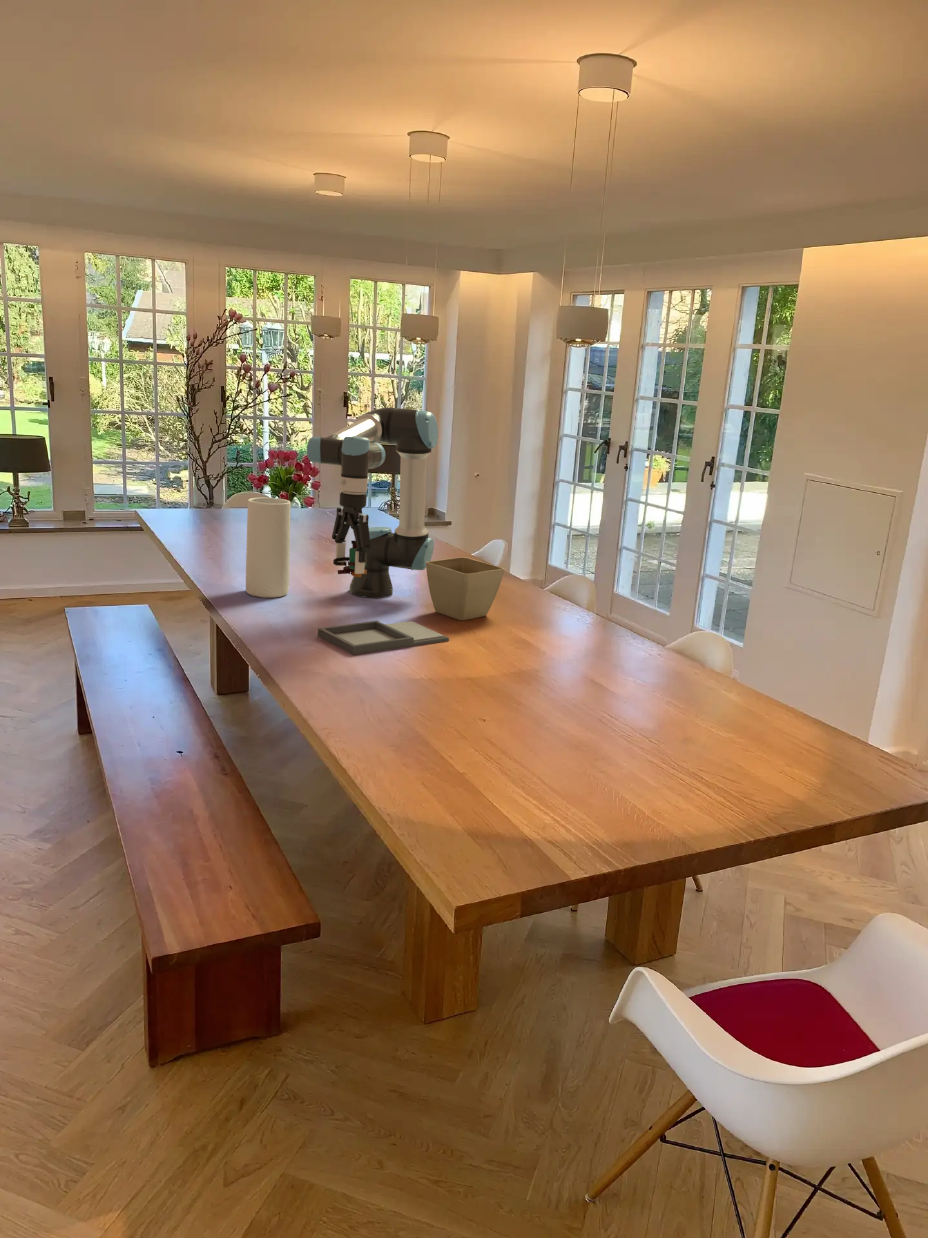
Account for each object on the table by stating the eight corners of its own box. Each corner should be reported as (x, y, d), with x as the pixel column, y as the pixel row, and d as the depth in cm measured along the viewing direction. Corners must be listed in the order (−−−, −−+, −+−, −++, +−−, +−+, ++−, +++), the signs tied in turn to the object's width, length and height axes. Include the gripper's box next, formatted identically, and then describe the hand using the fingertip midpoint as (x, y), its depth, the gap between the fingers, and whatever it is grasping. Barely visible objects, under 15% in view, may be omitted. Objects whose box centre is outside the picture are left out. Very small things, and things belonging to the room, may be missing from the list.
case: (411, 624, 285) (411, 616, 284) (448, 640, 271) (449, 632, 270) (317, 636, 264) (318, 628, 264) (353, 655, 250) (353, 646, 249)
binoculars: (338, 536, 264) (370, 536, 262) (339, 571, 266) (372, 572, 264) (326, 540, 255) (360, 541, 253) (328, 577, 258) (361, 578, 256)
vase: (296, 592, 312) (299, 500, 304) (274, 600, 299) (277, 505, 290) (259, 586, 316) (261, 495, 308) (237, 594, 303) (238, 500, 295)
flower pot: (501, 617, 302) (506, 567, 298) (462, 625, 289) (466, 573, 284) (460, 604, 315) (464, 556, 310) (420, 611, 301) (424, 561, 296)
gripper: (322, 486, 261) (318, 561, 267) (362, 498, 244) (358, 578, 250) (344, 486, 266) (341, 560, 272) (386, 498, 248) (381, 577, 254)
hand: (349, 569), depth 261 cm, fingers closed on binoculars, 10 cm apart
